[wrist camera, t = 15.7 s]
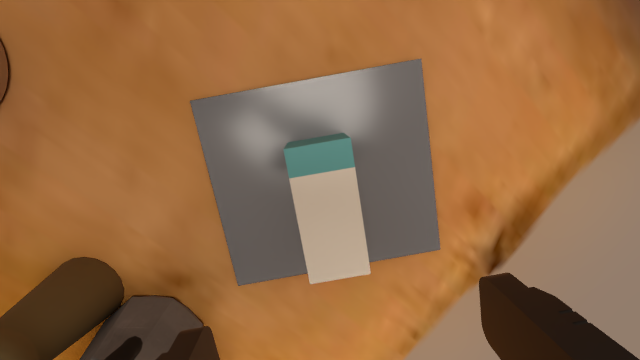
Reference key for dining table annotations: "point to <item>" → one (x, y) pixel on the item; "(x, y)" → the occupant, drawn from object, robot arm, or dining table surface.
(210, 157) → the board
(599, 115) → the dining table surface
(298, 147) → the block
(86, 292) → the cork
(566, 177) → the dining table surface
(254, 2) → the dining table surface
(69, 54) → the dining table surface
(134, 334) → the coffeepot
